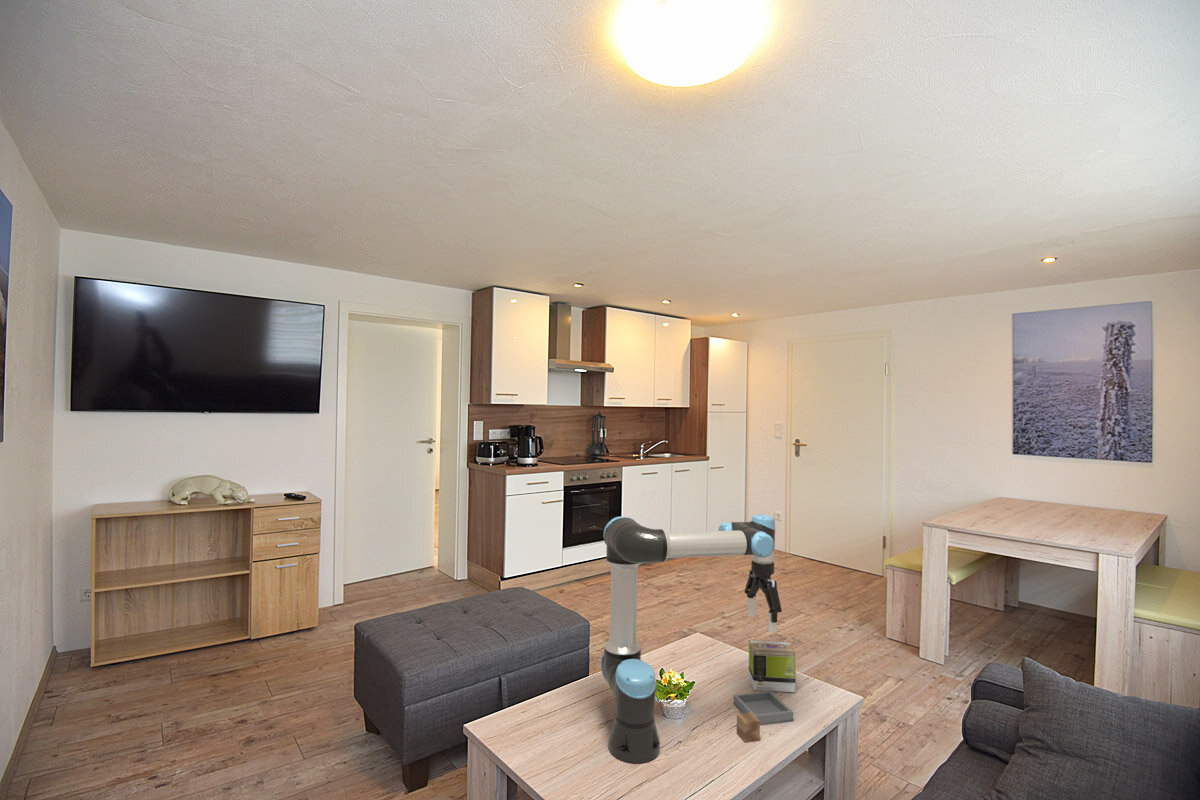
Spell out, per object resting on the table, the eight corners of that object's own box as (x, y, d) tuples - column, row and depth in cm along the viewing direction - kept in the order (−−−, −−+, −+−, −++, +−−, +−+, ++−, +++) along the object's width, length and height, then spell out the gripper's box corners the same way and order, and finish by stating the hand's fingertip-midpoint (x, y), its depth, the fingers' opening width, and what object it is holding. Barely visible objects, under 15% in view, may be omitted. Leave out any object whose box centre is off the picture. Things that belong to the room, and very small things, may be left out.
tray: (754, 726, 178) (754, 716, 178) (733, 703, 191) (733, 694, 191) (793, 721, 181) (793, 711, 181) (769, 699, 195) (770, 690, 195)
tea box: (789, 680, 209) (789, 640, 209) (795, 693, 199) (796, 652, 199) (748, 677, 211) (748, 638, 211) (752, 690, 201) (753, 649, 201)
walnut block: (744, 743, 169) (744, 722, 169) (736, 733, 173) (736, 714, 174) (759, 741, 170) (759, 721, 170) (751, 731, 175) (751, 712, 175)
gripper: (793, 570, 179) (792, 637, 179) (754, 551, 204) (753, 610, 203) (772, 572, 178) (771, 639, 177) (735, 552, 202) (734, 611, 201)
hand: (761, 623), depth 190 cm, fingers open, 13 cm apart
